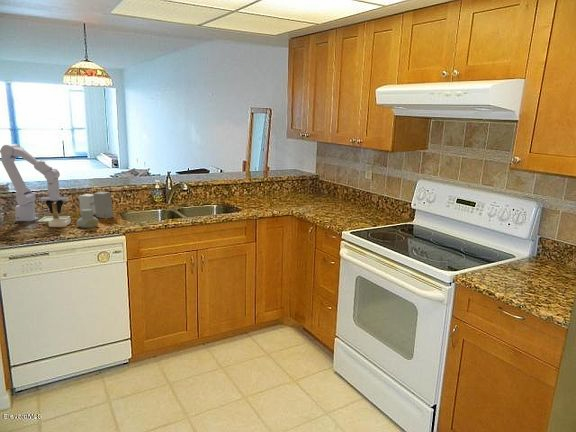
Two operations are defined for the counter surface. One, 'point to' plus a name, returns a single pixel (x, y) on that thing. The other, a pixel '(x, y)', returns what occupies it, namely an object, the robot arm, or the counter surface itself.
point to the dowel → (55, 211)
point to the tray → (49, 218)
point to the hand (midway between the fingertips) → (55, 213)
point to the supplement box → (87, 202)
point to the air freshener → (87, 219)
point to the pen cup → (59, 222)
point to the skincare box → (103, 204)
